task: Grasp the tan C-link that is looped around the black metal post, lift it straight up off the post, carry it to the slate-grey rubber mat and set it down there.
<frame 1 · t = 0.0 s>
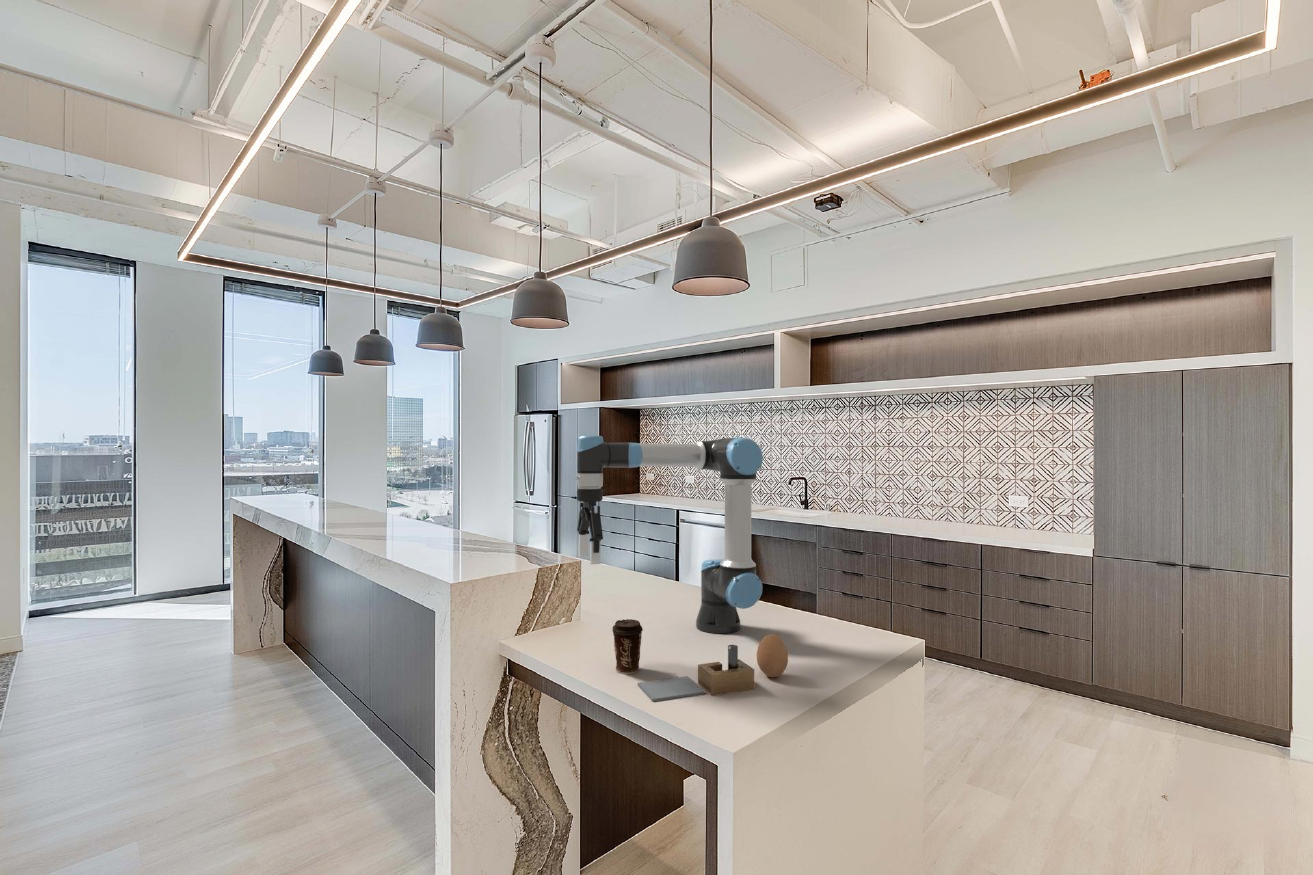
hand: (589, 560, 180), 28 cm above the countertop, fingers open, 13 cm apart
coffee cup: (627, 670, 168), on the countertop
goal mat: (670, 689, 155), on the countertop
post stand: (732, 685, 158), on the countertop
egg: (772, 677, 164), on the countertop
c link: (725, 686, 157), on the countertop
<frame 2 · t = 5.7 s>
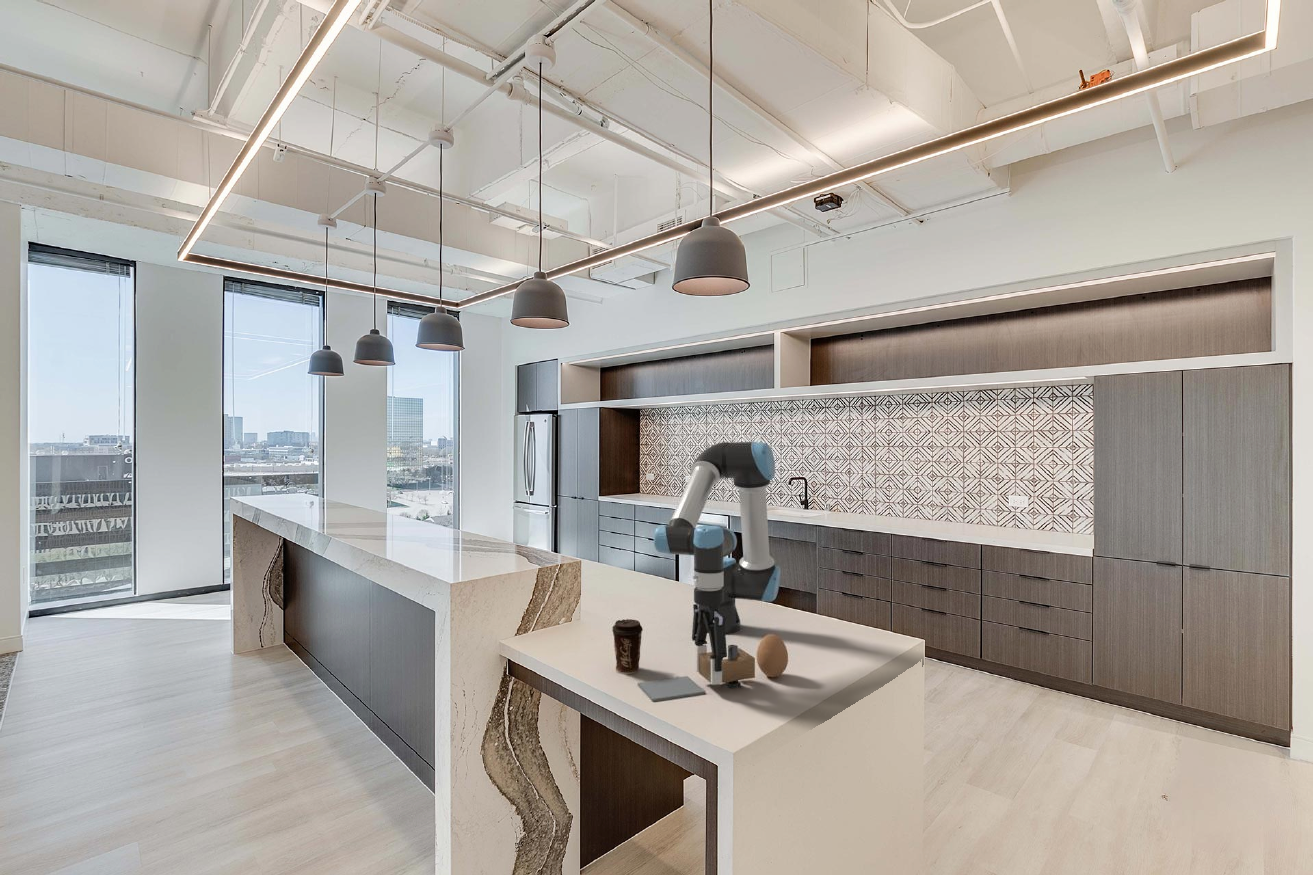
hand: (708, 676, 156), 3 cm above the countertop, fingers closed on c link, 8 cm apart
c link: (726, 675, 157), point 3 cm above the countertop, touching gripper
everything else where it was.
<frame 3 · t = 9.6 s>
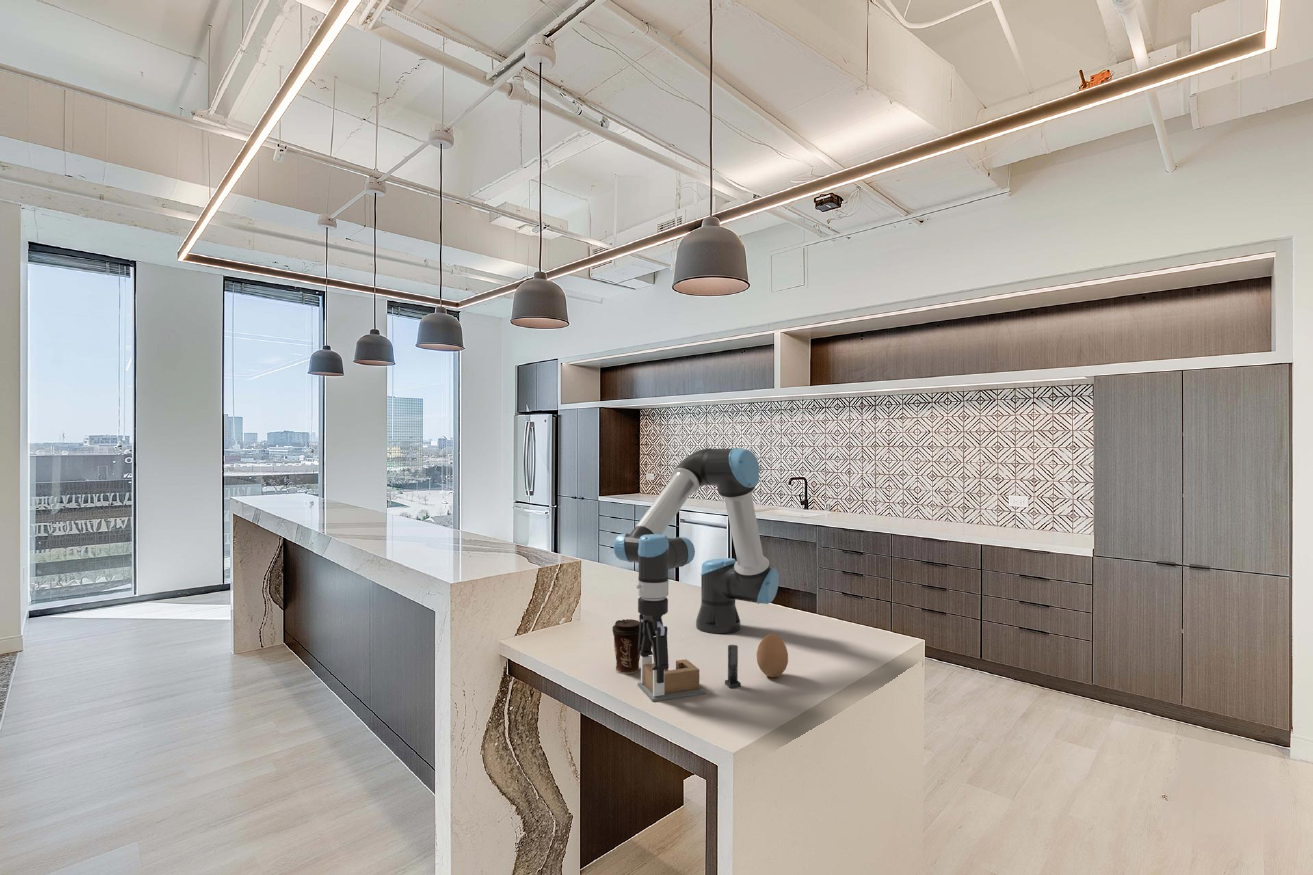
hand: (652, 688, 153), 1 cm above the countertop, fingers closed on c link, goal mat, 8 cm apart
c link: (671, 686, 155), point 1 cm above the countertop, touching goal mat, gripper
everything else where it was.
when the fingers open (1 cm above the countertop, at t = 10.3 s): c link stays where it is, resting on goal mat.
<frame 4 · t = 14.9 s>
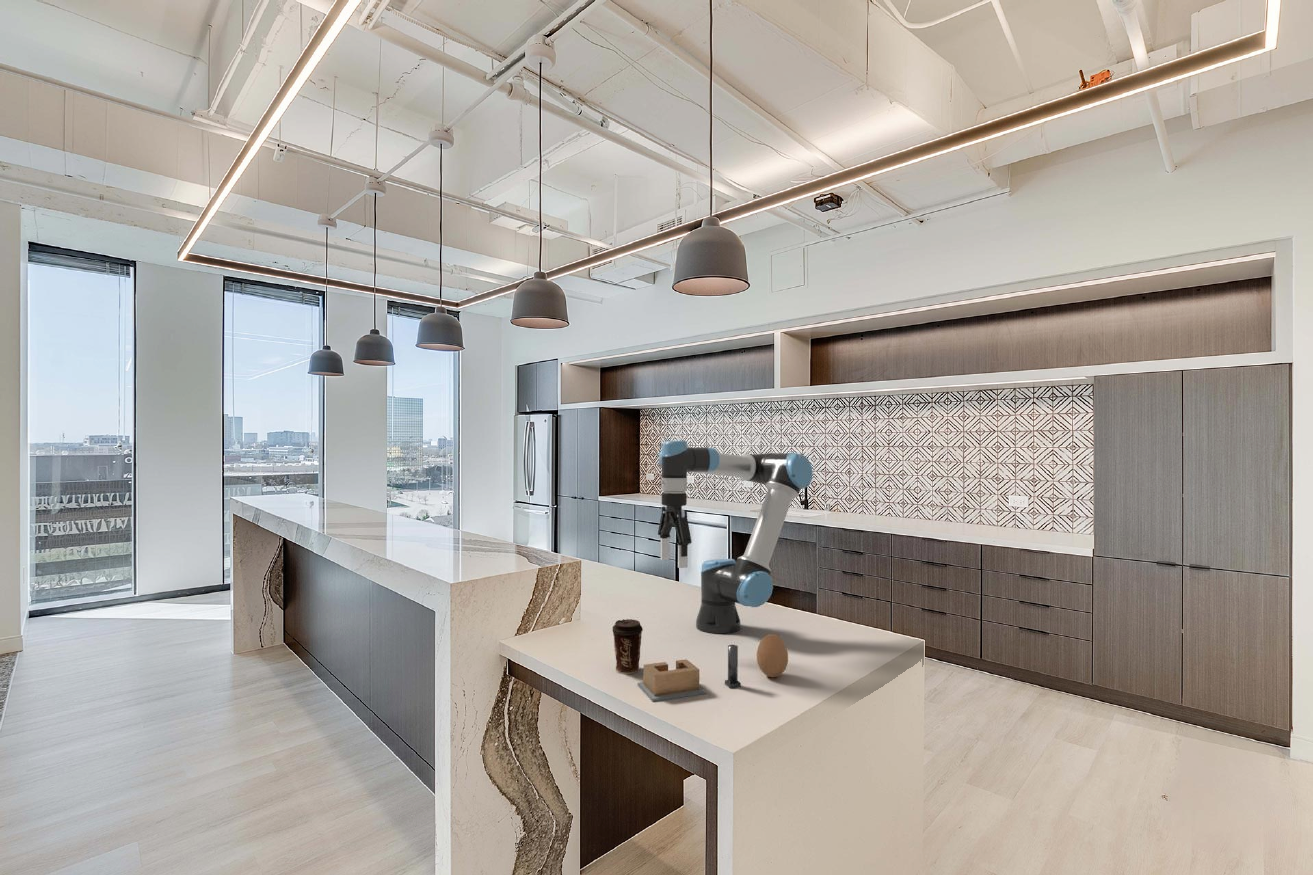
hand: (673, 563, 183), 27 cm above the countertop, fingers open, 13 cm apart
c link: (671, 686, 155), point 1 cm above the countertop, touching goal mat
everything else where it was.
at the end: c link inside the target area on the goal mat (0.1 cm from its centre), point 0.6 cm above the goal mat's base; c link touching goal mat; the gripper is holding nothing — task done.
